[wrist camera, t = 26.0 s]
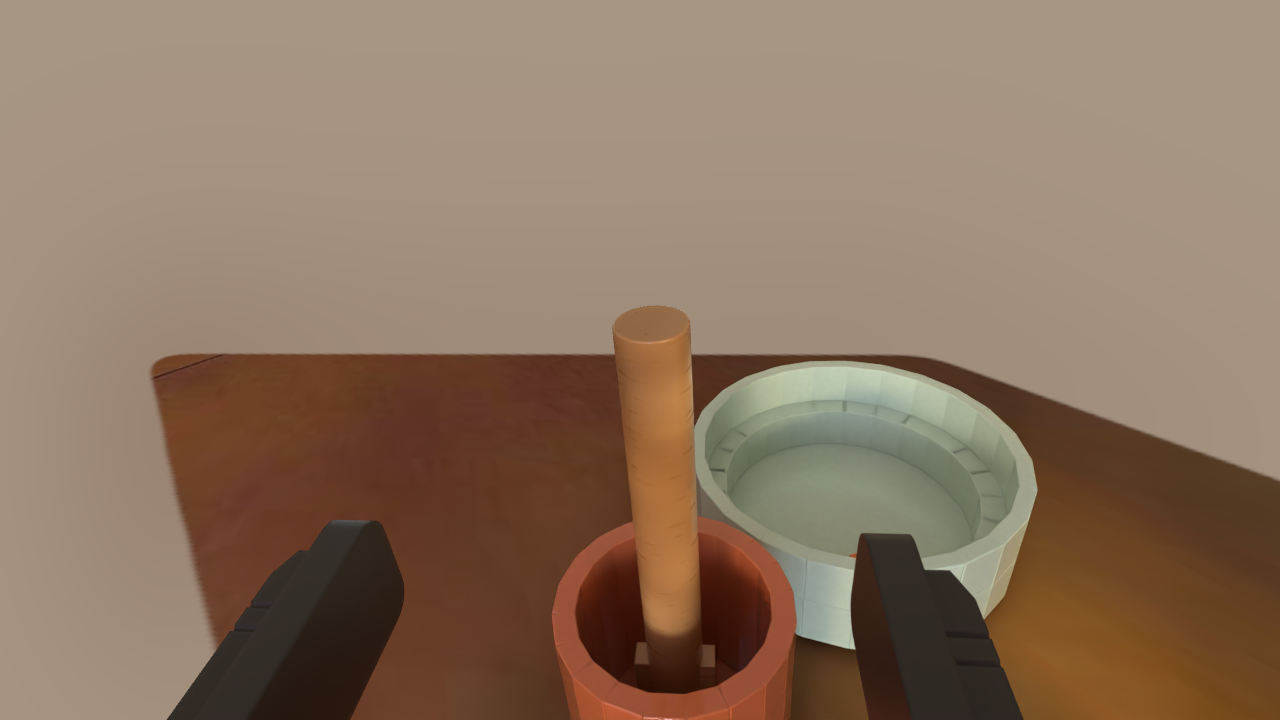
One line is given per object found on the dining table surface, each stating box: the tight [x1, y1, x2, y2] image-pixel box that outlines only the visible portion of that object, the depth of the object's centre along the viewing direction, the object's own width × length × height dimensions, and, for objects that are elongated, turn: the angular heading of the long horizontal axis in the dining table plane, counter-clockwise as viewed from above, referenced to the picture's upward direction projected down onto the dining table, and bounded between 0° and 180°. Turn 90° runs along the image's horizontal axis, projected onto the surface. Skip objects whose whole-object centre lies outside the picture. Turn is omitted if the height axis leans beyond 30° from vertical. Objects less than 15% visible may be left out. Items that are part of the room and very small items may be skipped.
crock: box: [551, 516, 797, 720], centre depth 27 cm, size 9×9×9 cm
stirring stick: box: [612, 306, 716, 694], centre depth 24 cm, size 3×2×20 cm
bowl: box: [694, 361, 1037, 649], centre depth 38 cm, size 18×18×6 cm
